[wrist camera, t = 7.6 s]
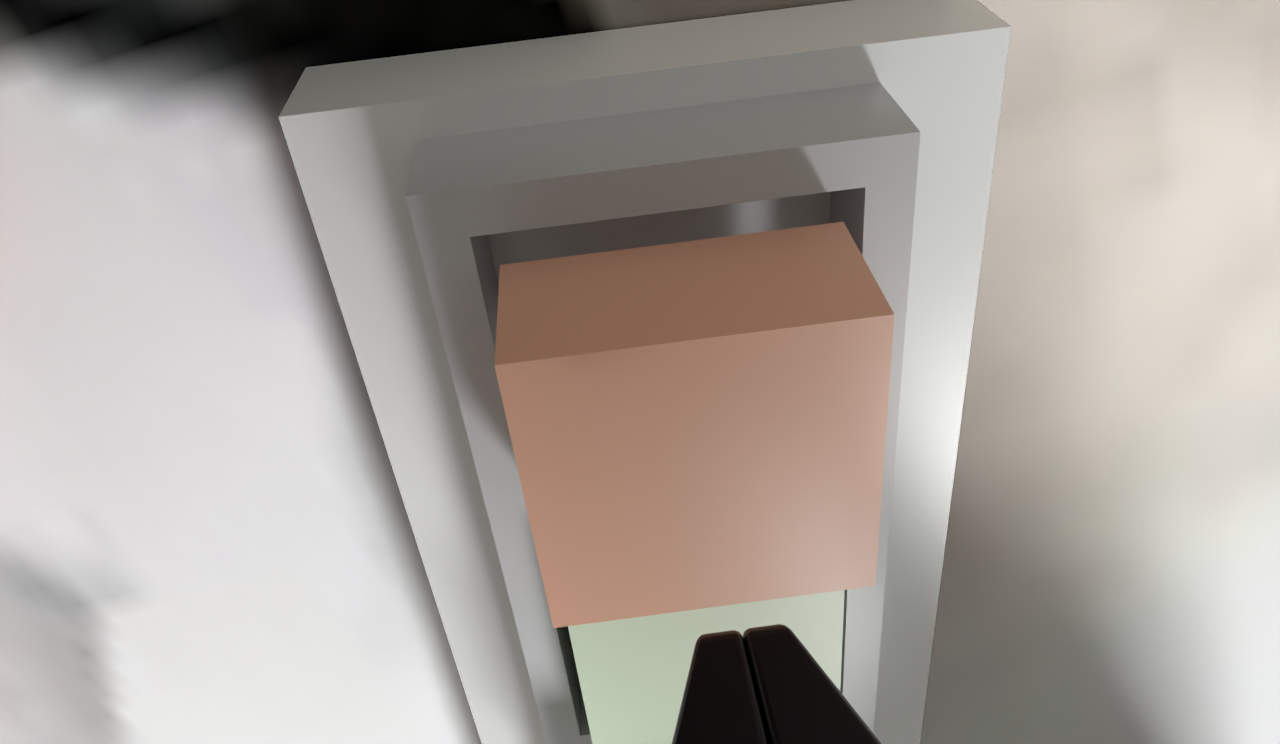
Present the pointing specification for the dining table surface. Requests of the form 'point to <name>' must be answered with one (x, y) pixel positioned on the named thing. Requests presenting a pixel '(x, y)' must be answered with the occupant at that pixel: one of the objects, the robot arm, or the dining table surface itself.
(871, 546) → the terracotta square block
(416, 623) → the dining table surface
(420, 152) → the white long flat frame
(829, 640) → the sage key
